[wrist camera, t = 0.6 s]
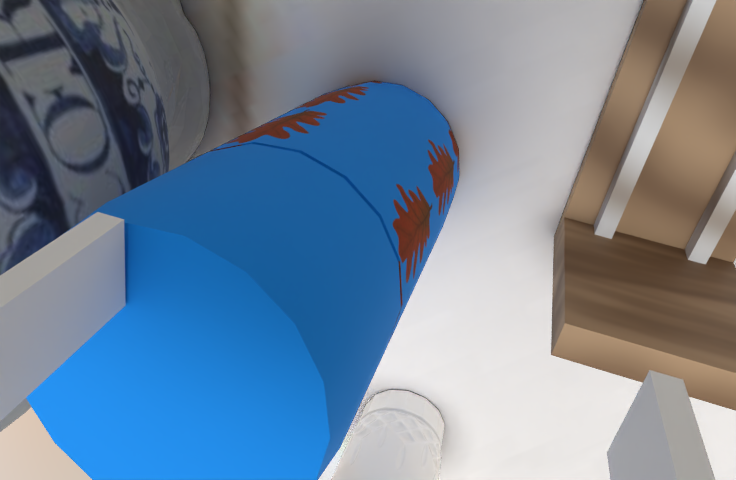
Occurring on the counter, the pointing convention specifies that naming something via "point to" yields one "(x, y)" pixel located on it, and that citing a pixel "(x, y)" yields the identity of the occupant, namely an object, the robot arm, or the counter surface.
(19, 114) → the apothecary jar
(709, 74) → the track board
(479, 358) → the counter surface
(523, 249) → the counter surface
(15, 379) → the robot arm
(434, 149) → the thermos
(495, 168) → the counter surface
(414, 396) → the white cup
